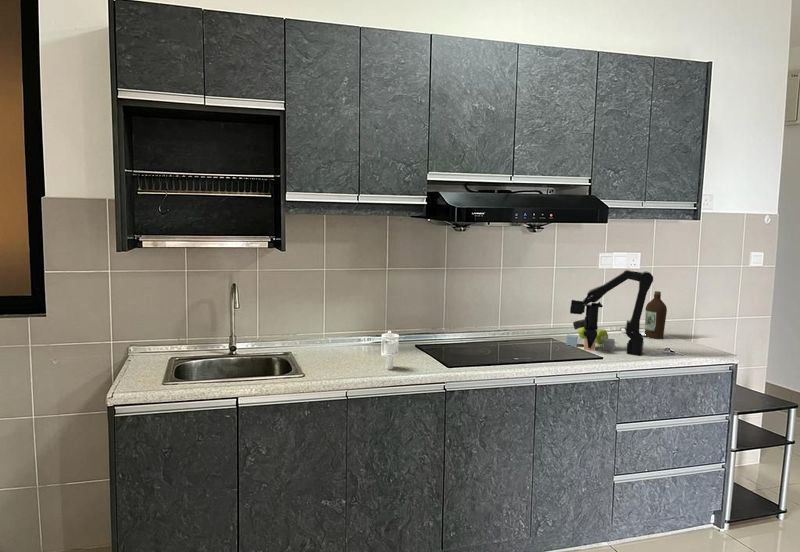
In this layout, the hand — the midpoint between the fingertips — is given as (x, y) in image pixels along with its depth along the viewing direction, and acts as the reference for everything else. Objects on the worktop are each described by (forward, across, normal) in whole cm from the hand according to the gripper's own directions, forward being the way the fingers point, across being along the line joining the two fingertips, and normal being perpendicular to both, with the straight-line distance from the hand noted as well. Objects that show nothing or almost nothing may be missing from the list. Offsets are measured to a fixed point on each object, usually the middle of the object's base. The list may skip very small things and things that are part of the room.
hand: (589, 346), depth 292 cm
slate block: (+1, -4, -9) cm, 10 cm away
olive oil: (+1, -44, +32) cm, 55 cm away
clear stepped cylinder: (+1, +74, -78) cm, 107 cm away
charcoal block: (+1, -3, +9) cm, 9 cm away
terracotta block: (+1, 0, 0) cm, 1 cm away
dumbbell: (+1, -21, +1) cm, 21 cm away
